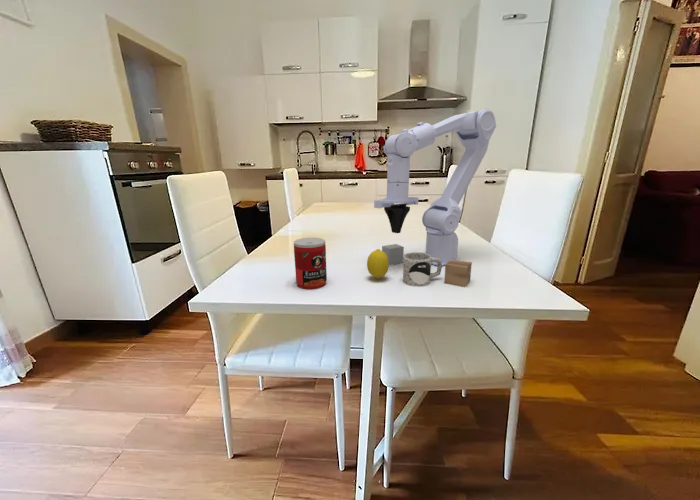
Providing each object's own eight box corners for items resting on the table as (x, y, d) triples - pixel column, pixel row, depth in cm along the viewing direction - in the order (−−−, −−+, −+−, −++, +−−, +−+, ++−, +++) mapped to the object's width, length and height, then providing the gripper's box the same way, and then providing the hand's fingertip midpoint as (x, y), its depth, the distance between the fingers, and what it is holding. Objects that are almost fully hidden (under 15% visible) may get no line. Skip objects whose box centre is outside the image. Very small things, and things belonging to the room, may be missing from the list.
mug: (409, 287, 75) (410, 261, 74) (399, 278, 82) (399, 253, 80) (447, 283, 77) (449, 257, 76) (434, 274, 84) (435, 250, 82)
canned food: (304, 292, 74) (301, 246, 71) (291, 281, 80) (288, 240, 77) (332, 285, 78) (331, 242, 75) (318, 276, 84) (316, 235, 81)
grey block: (395, 259, 98) (396, 243, 96) (403, 262, 94) (403, 246, 93) (381, 261, 96) (382, 245, 94) (389, 265, 92) (389, 249, 91)
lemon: (392, 277, 82) (392, 248, 80) (382, 284, 77) (382, 253, 75) (373, 273, 85) (374, 245, 83) (363, 280, 80) (362, 250, 78)
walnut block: (450, 277, 82) (451, 259, 80) (470, 281, 79) (471, 262, 78) (444, 283, 78) (445, 264, 76) (465, 287, 75) (466, 267, 74)
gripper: (406, 180, 90) (404, 227, 94) (367, 182, 82) (366, 233, 85) (425, 181, 85) (422, 231, 88) (385, 183, 76) (383, 237, 80)
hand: (396, 232), depth 86 cm, fingers closed
